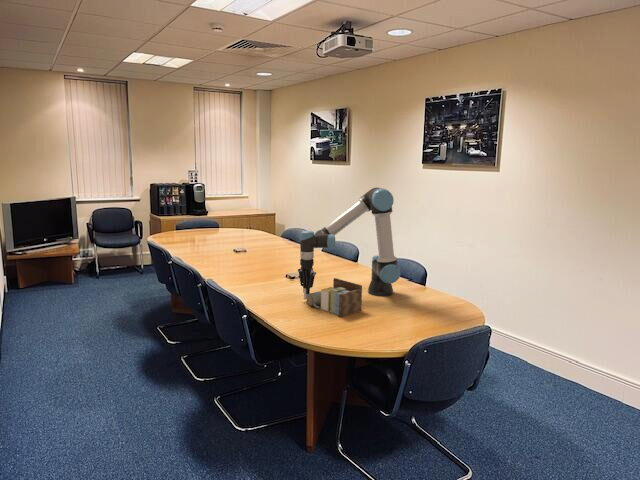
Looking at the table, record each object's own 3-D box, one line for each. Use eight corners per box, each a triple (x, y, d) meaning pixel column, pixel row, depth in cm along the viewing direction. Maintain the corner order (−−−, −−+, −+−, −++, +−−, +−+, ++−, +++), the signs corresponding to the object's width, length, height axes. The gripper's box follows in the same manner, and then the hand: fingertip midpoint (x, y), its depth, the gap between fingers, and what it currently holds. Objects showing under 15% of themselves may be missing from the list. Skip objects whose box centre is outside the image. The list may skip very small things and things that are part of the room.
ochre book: (330, 306, 261) (331, 286, 259) (338, 308, 257) (338, 289, 256) (320, 309, 255) (321, 289, 253) (328, 311, 252) (328, 291, 250)
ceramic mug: (305, 304, 263) (306, 291, 262) (318, 302, 267) (319, 289, 266) (315, 310, 254) (315, 296, 253) (328, 308, 258) (328, 294, 257)
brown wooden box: (334, 302, 269) (335, 278, 266) (361, 310, 255) (362, 285, 252) (313, 308, 257) (313, 283, 255) (340, 317, 243) (341, 291, 241)
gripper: (294, 257, 267) (293, 297, 271) (309, 261, 258) (309, 302, 262) (304, 255, 272) (303, 295, 276) (319, 259, 263) (319, 300, 267)
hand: (306, 298), depth 269 cm, fingers closed
